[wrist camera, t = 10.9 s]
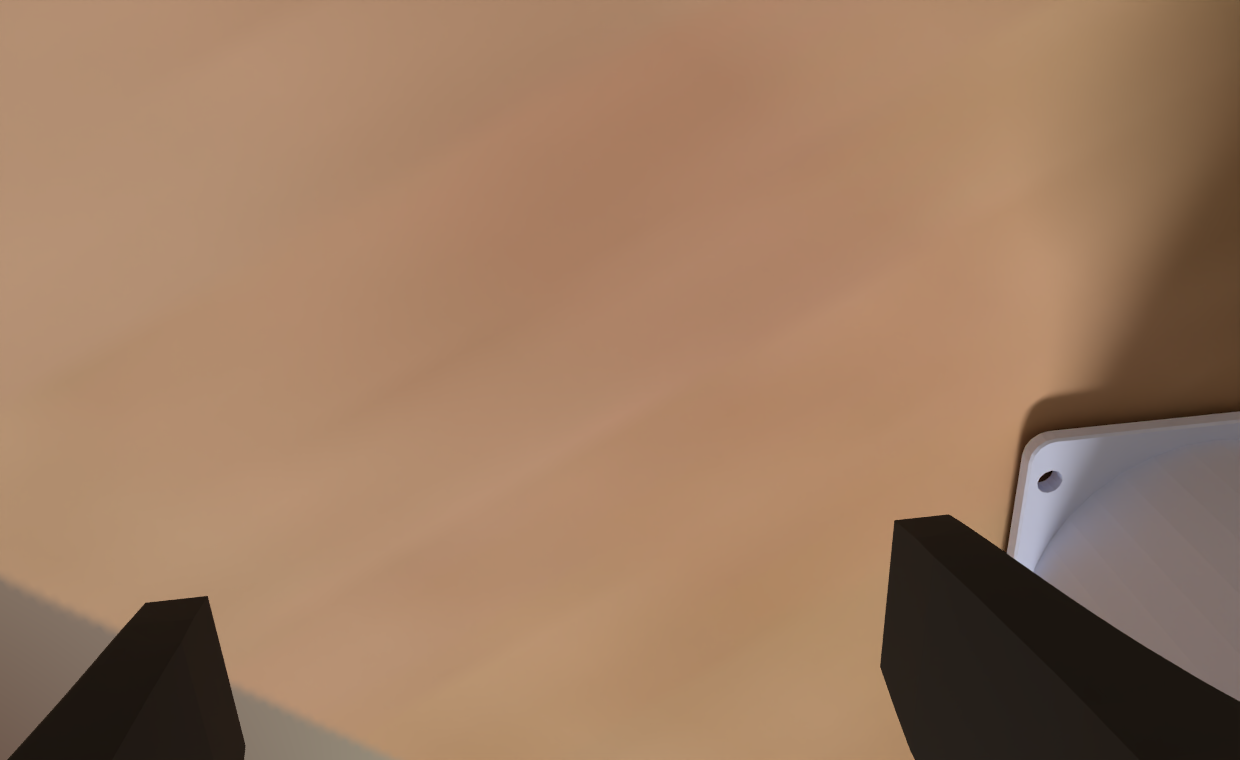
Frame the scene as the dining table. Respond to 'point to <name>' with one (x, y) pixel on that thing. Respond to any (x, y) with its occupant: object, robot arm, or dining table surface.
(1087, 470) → the robot arm
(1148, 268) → the dining table surface
